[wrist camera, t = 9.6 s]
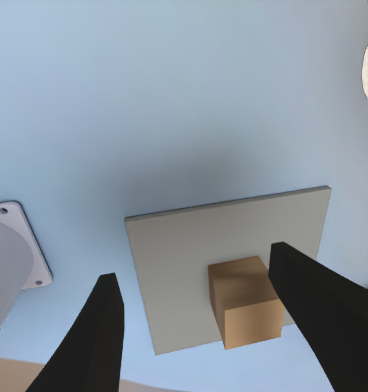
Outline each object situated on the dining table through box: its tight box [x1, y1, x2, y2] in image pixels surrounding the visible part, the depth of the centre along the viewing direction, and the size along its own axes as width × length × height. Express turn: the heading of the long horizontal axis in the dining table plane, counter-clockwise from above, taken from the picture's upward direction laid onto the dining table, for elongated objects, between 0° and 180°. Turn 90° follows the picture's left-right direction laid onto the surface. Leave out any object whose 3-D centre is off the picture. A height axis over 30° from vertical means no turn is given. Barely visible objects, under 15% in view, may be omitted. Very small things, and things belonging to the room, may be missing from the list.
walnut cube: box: [208, 256, 285, 350], centre depth 22 cm, size 5×5×5 cm
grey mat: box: [125, 186, 332, 356], centre depth 25 cm, size 18×18×1 cm
